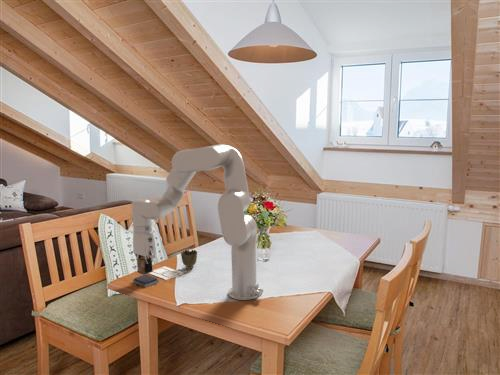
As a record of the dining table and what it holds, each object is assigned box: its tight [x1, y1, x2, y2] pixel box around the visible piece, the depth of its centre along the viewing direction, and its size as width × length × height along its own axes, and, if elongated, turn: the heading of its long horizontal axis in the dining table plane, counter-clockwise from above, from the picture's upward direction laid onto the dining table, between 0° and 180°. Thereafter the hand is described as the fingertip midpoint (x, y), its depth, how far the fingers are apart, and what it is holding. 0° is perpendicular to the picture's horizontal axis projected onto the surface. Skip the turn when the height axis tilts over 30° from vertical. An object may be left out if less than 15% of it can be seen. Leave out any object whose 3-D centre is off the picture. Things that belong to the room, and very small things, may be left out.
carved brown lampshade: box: [180, 249, 198, 270], centre depth 195 cm, size 8×7×8 cm
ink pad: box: [132, 273, 160, 288], centre depth 179 cm, size 9×7×2 cm
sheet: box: [147, 266, 185, 281], centre depth 190 cm, size 14×10×1 cm
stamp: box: [136, 256, 153, 275], centre depth 178 cm, size 4×4×7 cm
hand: (145, 270), depth 179 cm, fingers closed on stamp, 4 cm apart
